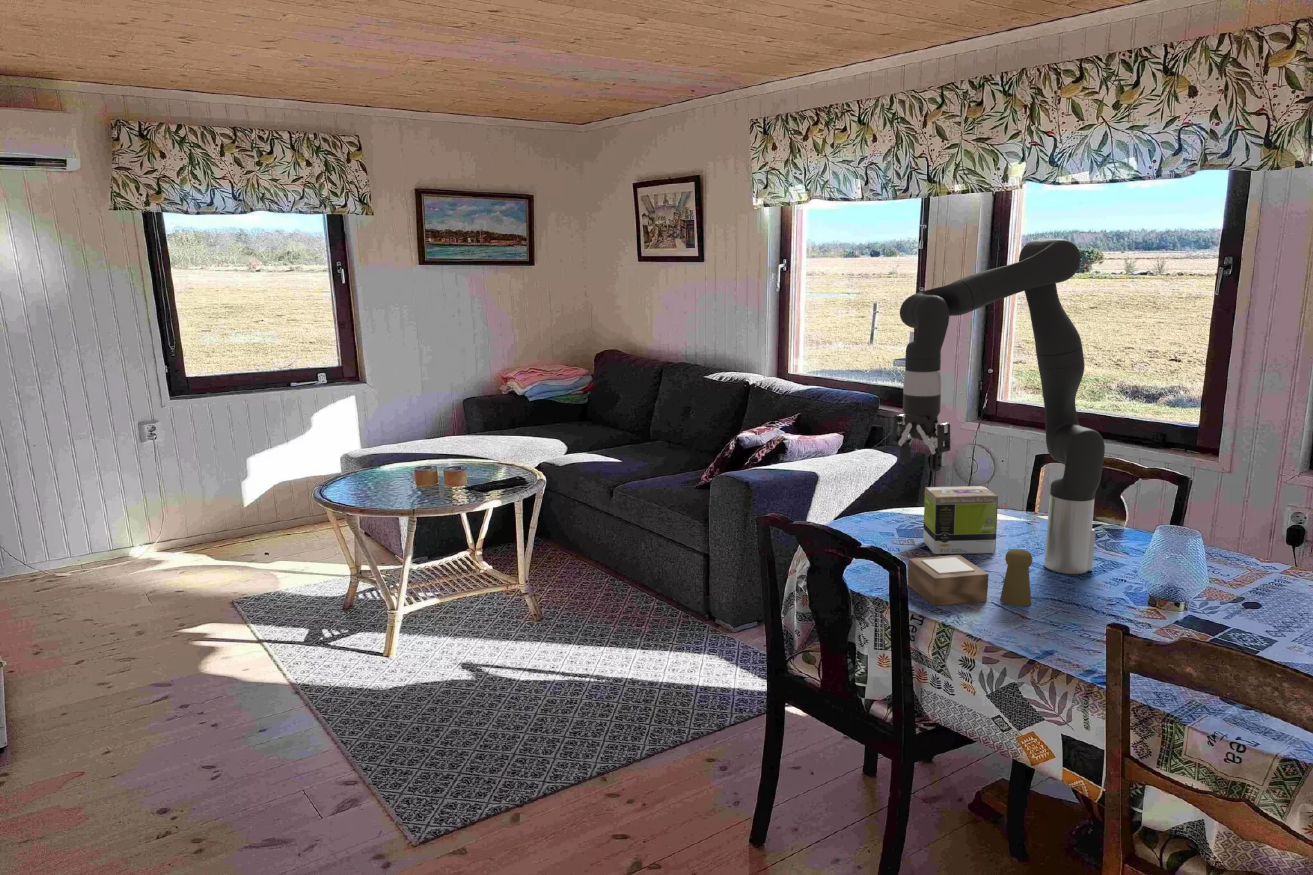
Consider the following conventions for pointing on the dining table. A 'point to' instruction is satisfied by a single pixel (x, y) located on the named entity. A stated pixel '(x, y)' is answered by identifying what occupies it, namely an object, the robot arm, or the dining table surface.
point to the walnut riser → (947, 580)
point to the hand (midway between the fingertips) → (920, 466)
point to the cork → (1017, 578)
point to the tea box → (960, 519)
